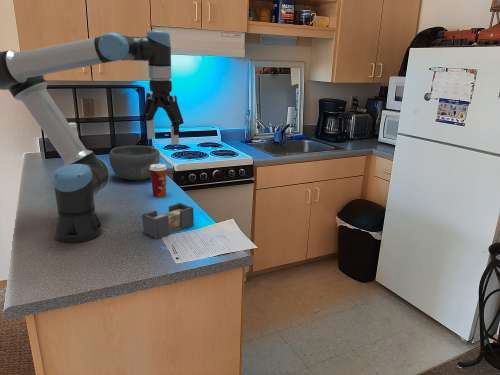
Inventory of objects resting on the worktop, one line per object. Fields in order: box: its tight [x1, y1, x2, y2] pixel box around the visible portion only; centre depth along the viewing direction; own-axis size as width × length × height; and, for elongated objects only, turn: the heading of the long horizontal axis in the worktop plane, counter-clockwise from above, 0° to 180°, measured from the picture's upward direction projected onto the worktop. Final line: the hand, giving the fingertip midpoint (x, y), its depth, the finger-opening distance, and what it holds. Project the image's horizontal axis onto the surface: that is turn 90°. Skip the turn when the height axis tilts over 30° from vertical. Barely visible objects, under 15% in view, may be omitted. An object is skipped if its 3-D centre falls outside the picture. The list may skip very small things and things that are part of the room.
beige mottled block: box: [153, 209, 182, 231], centre depth 138 cm, size 13×4×5 cm, turn 140°
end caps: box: [141, 202, 195, 240], centre depth 138 cm, size 17×8×7 cm, turn 140°
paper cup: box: [149, 163, 168, 198], centre depth 171 cm, size 8×8×14 cm
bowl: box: [108, 145, 161, 181], centre depth 195 cm, size 24×24×15 cm
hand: (162, 141), depth 137 cm, fingers open, 13 cm apart
